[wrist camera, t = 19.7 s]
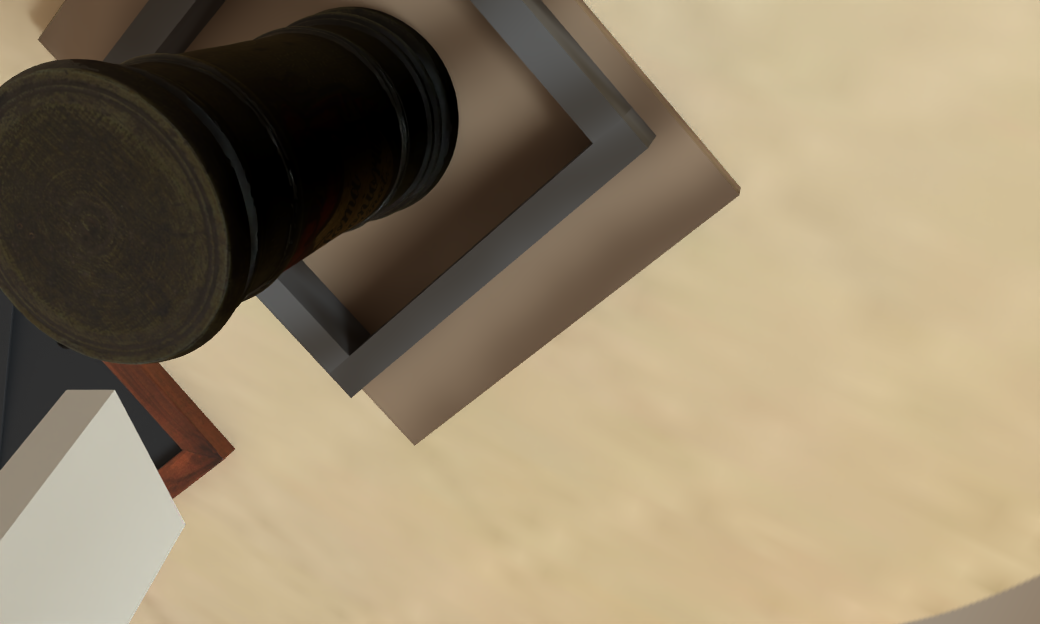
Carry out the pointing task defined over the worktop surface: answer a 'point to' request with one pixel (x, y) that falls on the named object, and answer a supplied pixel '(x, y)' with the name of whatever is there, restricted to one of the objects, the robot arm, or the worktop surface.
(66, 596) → the robot arm
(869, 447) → the worktop surface
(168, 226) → the container
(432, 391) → the holder
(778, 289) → the worktop surface
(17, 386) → the picture frame
